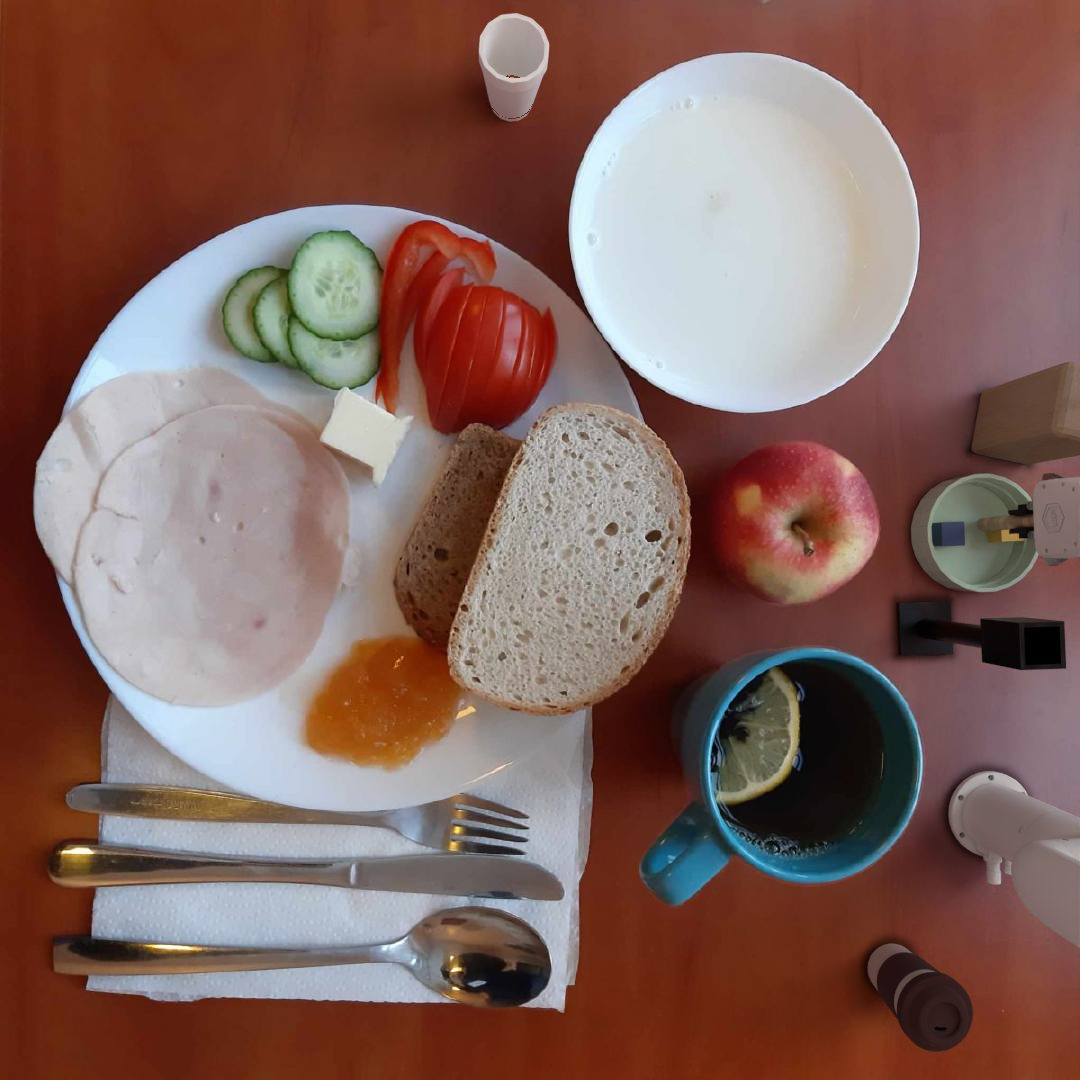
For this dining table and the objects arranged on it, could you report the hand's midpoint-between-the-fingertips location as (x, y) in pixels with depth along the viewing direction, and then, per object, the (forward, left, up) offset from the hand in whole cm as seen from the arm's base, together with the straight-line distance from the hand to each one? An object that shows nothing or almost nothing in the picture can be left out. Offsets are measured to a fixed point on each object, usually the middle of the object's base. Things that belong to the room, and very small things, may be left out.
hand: (1019, 521), depth 119 cm
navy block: (-1, +6, -10) cm, 12 cm away
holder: (-15, +9, -10) cm, 21 cm away
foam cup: (+65, +69, -11) cm, 95 cm away
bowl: (-1, +2, -10) cm, 11 cm away
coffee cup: (-65, +16, -11) cm, 68 cm away
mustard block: (-1, -3, -10) cm, 10 cm away
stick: (0, 0, -9) cm, 9 cm away
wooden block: (+15, -5, -11) cm, 19 cm away
